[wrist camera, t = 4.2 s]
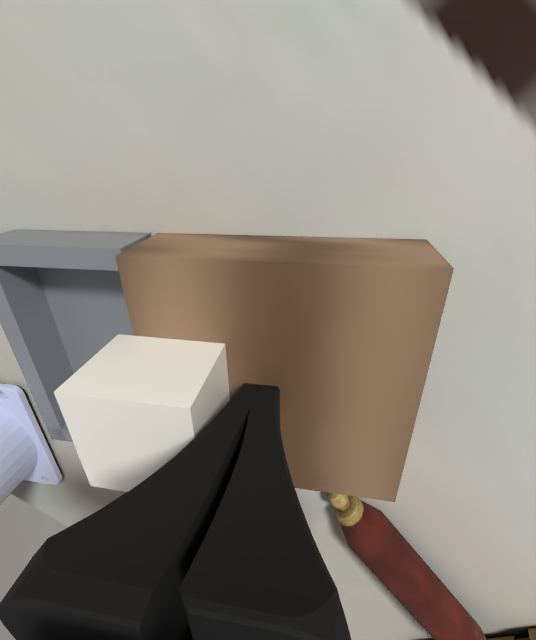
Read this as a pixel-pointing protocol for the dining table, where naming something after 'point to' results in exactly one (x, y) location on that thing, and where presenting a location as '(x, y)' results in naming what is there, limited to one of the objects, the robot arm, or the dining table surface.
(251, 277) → the board
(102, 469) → the tile block
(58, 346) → the tray
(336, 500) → the gavel
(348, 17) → the dining table surface
